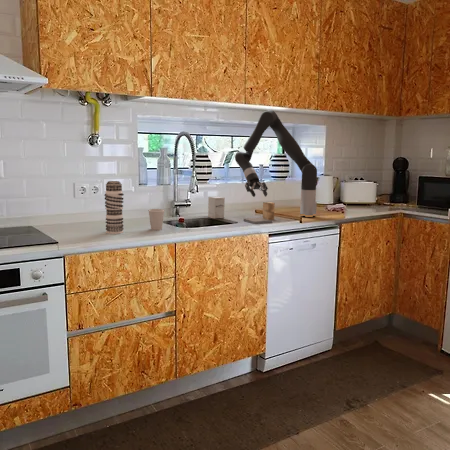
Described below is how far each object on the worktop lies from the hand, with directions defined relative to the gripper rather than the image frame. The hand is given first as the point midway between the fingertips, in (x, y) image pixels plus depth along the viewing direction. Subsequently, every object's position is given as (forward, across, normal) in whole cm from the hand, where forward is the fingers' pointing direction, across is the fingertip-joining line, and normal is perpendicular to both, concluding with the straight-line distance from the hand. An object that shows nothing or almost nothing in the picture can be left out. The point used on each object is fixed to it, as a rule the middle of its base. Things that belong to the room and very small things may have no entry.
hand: (260, 195), depth 290 cm
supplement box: (+4, -27, +15) cm, 31 cm away
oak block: (+16, 0, +2) cm, 16 cm away
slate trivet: (+21, -12, -2) cm, 24 cm away
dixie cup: (+23, -75, -4) cm, 79 cm away
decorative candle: (+24, -97, -5) cm, 100 cm away
